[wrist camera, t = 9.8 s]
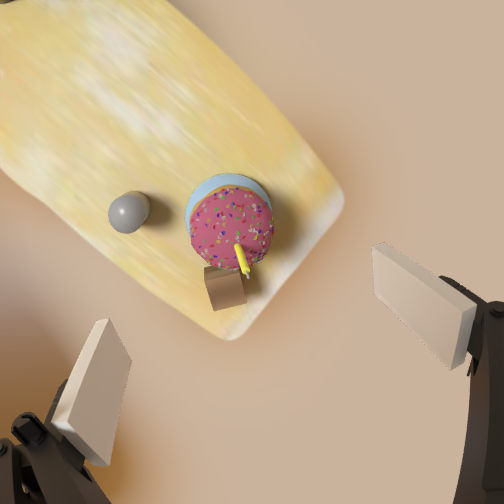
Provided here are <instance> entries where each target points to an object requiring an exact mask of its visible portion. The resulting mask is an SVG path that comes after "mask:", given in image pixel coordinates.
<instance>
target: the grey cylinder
mask: <svg viewBox="0 0 504 504" xmlns="http://www.w3.org/2000/svg"><path fill="white" fill-rule="evenodd" d="M149 213H150V202H149V200H148V198H147V197H146V196H145V195H144V194H143V193H141V192H138V191H130V192H127V193H125V194H124V195H122V196H120V197H119V198H117V199H116V200H114V201H113V202H112V204H111V205H110V208H109V211H108V217H109V221H110V223H111V225H112V227H113V228H114V229H115V230H117V231H118V232H121V233H126V234H128V233H132V232H135V231H136V230H138V229H139V228H140V226H141V225H142V224H143V222H144V221H145V220H146V219H147V217H148V216H149Z"/></svg>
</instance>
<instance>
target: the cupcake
mask: <svg viewBox="0 0 504 504" xmlns="http://www.w3.org/2000/svg"><path fill="white" fill-rule="evenodd" d="M189 227H190V231H189V234H190V236H191V245H192V246H193V248H194V249H195V251H196V252H197V253H198V254H199V255H200V256H201V257H202V258H203V259H204V260H205V261H206V262H207V263H208V264H209V265H212V266H214V267H217V268H219V269H225V270H226V269H229V270H232V271H233V270H234V269H235V270H236V269H241V270H242V273H243V274H246V276H247V278H248V279H249V278H250V277H249V272H250V269H249V267H250V266H253V265H255V264H256V263H260V259H261V258H262V259H263V256H264V255H266V254H267V252H268V249H269V246H270V243H271V242H272V236H273V234H274V222H273V217H272V211H271V209H270V208H269V206H268V203H267V202H266V201H265V200H264V199H263V198H262V197H261V196H260V195H258V194H257V193H256V192H254V191H253V190H252V189H250V188H248V187H244V186H239V185H233V184H228V185H223V186H220V187H218V188H216V189H214V190H212V191H211V192H209V193H208V194H207V195H206V196H205V197H203V198H202V199H201V200H200V201H199V202H197V203H196V205H195V206H194V208H193V210H192V212H191V214H190V218H189ZM262 259H261V260H262Z"/></svg>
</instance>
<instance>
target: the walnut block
mask: <svg viewBox="0 0 504 504" xmlns="http://www.w3.org/2000/svg"><path fill="white" fill-rule="evenodd" d="M204 281H205V285H206V288H207V291H208V294H209V297H210V301H211V304H212V307H213V310H214V311H217V310H221V309H225V308H229V307H233V306H237V305H241V304H245V303H247V300H246V296H245V292H244V288H243V284H242V280H241V276H240V272H239V269H236V270H235V269H234V270H233V271H232V270H229V269H226V270H225V269H219V268H217V267H214V266H209V267H205V268H204Z"/></svg>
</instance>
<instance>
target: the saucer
mask: <svg viewBox="0 0 504 504" xmlns="http://www.w3.org/2000/svg"><path fill="white" fill-rule="evenodd" d="M228 184H233V185H239V186H244V187H248V188H250V189H252V190H253V191H254V192H256V193H257V194H258V195H260V196H261V197H262V198H263V199H264V200H265V201H266V202H267V203H268V206H269V208H270V209H271V211H272V206H271V203H270V200H269V198H268V196H267V194H266V193H265V191H264V190H263V189H262V188H261V187H260V186H259V185H258V184H257V183H256V182H254V181H253V180H251V179H250V178H248V177H245V176H243V175H239V174H232V173H226V174H219V175H216V176H213V177H211V178H209V179H207V180H205V181H204V182H202V183H201V184H200V185H199V186H198V187H197V188H196V189H195V190H194V192H193V193H192V195H191V197H190V199H189V201H188V204H187V208H186V214H185V221H186V227H187V231H188V233H189V231H190V227H189V218H190V214H191V212H192V210H193V208H194V206H195V205H196V203H197V202H199V201H200V200H201V199H202V198H203V197H205V196H206V195H207V194H208V193H209V192H211V191H212V190H214V189H216V188H218V187H220V186H223V185H228ZM272 217H273V212H272ZM189 236H190V234H189ZM190 238H191V236H190Z"/></svg>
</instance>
